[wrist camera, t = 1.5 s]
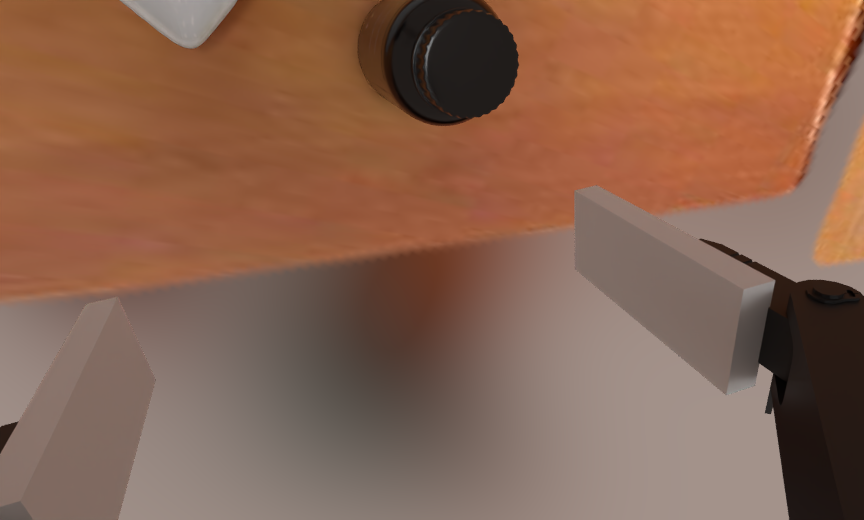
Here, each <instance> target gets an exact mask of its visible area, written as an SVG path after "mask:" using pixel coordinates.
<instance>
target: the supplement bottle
mask: <svg viewBox="0 0 864 520" xmlns="http://www.w3.org/2000/svg"><path fill="white" fill-rule="evenodd" d="M516 48H517V44H516V43H515V42H514V40H513V35H512V34H511V33H510V32H509V29H508V27H507V26H506V25H503V23H502V21H501V20H500V19H499V18H498V16H497V15H496V13H495V12H494V11H493V9H492V8H491V7H490V6H489V5H488V4H487V3H486V2H485V1H484V0H382V1H381V2H379V3H378V4H377V5H376V6H375V7H374V8H373V9H372V10H371V11H370V13H369V14H368V16H367V17H366V19H365V21H364V23H363V25H362V28H361V31H360V35H359V42H358V53H359V60H360V64H361V68H362V70H363V73H364V75H365V77H366V79H367V80H368V82H369V83H370V85H371V86H372V87H373V88H374V89H375V90H376V91H377V92H378V93H379V94H380V95H381V96H383V97H384V98H385V99H387V100H388V101H390V102H391V103H393V104H394V105H395V106H397V107H398V108H400V109H401V110H403V111H404V112H406V113H407V114H408V115H410V116H412V117H413V118H415V119H417V120H419V121H422V122H424V123H427V124H431V125H436V126H450V125H456V124H460V123H463V122H466V121H468V120H470V119H472V118H474V117H481V116H482V115H483V114H489V113H490V112H491V110H494V109H496V108H497V107H498V106H499V104H501V103H503V102H504V100H505V98H506V97H507V96H508V95H509V94H510V91H511V88H512V87H513V86H514V83H515V78H516V77H517V69H518V66H519V63H518V55H519V54H518V52H517V50H516Z"/></svg>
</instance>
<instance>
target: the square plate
mask: <svg viewBox="0 0 864 520" xmlns="http://www.w3.org/2000/svg"><path fill="white" fill-rule="evenodd" d="M120 1H121V2H122V3H124V4H125V5H126V6H127V7H129V8H130V9H131V10H133V11H134V12H135V13H136V14H137V15H139V16H140V17H141V18H143V19H144V20H145V21H146V22H148V23H149V24H150V25H151V26H153V27H154V28H155V29H156V30H157V31H159V32H160V33H161V34H163V35H164V36H166V37H167V38H168V39H170V40H171V41H173V42H174V43H176V44H178V45H180V46H182V47H185V48H190V49H192V48H197V47H198V46H200V45H201V44H202V43H203V42H205V41H206V40H207V39H208V37H209V36H210V35H211V33H212V32H213V31H214V30H215V29H216V28H217V27H218V25H219V24H220V23H221V21H222V20H223V19H224V18H225V16H226V15H227V14H228V13H229V12H230V10H231V9H232V8H233V6H234V5H235V3H236V2H237V0H120Z"/></svg>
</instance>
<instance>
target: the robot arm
mask: <svg viewBox="0 0 864 520" xmlns="http://www.w3.org/2000/svg"><path fill="white" fill-rule="evenodd" d="M575 270H577V271H578V272H579V273H580V274H581V275H582V276H584V277H585V278H586V279H587V280H588V281H590V282H591V283H592V284H593V285H594V286H596V287H597V288H598V289H599V290H600V291H602V292H603V293H604V294H605V295H606V296H608V297H609V298H610V299H612V300H613V301H614V302H615V303H616V304H617V305H618V306H620V307H621V308H622V309H623V310H625V311H626V312H627V313H628V314H629V315H631V316H632V317H633V318H634V319H635V320H637V321H638V322H639V323H640V324H641V325H642V326H644V327H645V328H646V329H647V330H648V331H650V332H651V333H652V334H653V335H655V336H656V337H657V338H658V339H659V340H660V341H662V342H663V343H664V344H665V345H667V346H668V347H669V348H670V349H671V350H673V351H674V352H675V353H676V354H678V356H680V357H681V358H682V359H684V360H685V361H686V362H687V363H688V364H689V365H690V366H692V367H693V368H694V369H695V370H696V371H698V372H699V373H700V374H701V375H702V376H704V377H705V378H706V379H707V380H708V381H710V382H711V383H712V384H713V385H714V386H716V387H717V388H718V389H719V390H721V391H722V392H723V393H724V394H725V395H729V394H732V393H735V392H738V391H741V390H744V389H747V388H750V387H753V386H755V383H756V377H757V372H758V367H759V363H760V364H761V365H763V366H764V367H765V368H767V369H768V370H770V371H771V372H772V373H773V377H772V382H771V387H770V392H769V396H768V402H767V406H766V410H765V413H767V414H771V411H772V408H773V409H774V416H775V423H776V430H777V437H778V444H779V451H780V458H781V465H782V472H783V479H784V486H785V493H786V500H787V506H788V514H789V520H864V296H863V295H862V294H861V293H860V292H859V291H857V290H855V289H853V288H852V287H849V286H846V285H843V284H840V283H837V282H832V281H826V280H806V281H801V282H798V283H796V282H794V281H792V280H790V279H788V278H786V277H784V276H782V275H780V274H778V273H776V272H774V271H773V270H770V269H769V268H767V267H765V266H763V265H761V264H759V263H757V262H752V260H751V259H749V258H747V257H745V256H743V255H739V254H738V252H736V251H734V250H732V249H730V248H728V247H726V246H724V245H722V244H718V243H715V242H711V241H707V240H704V239H697V238H695V237H693V236H691V235H689V234H687V233H685V232H684V231H681V230H680V229H678V228H676V227H674V226H672V225H670V224H669V223H667V222H665V221H663V220H661V219H659V218H657V217H655V216H654V215H652V214H650V213H648V212H646V211H644V210H642V209H640V208H639V207H637V206H635V205H633V204H631V203H629V202H627V201H625V200H624V199H622V198H620V197H618V196H616V195H614V194H612V193H610V192H609V191H607V190H605V189H603V188H601V187H599V186H597V185H596V186H592V187H587V188H583V189H579V190H575ZM155 381H156V379H155V377H154V375H153V373H152V370H151V368H150V366H149V364H148V362H147V359H146V357H145V355H144V353H143V351H142V349H141V346H140V344H139V342H138V340H137V337H136V335H135V333H134V331H133V329H132V326H131V324H130V322H129V320H128V318H127V316H126V313H125V311H124V309H123V307H122V305H121V302H120V300H119V298H118V297H114V298H110V299H105V300H101V301H97V302H92V303H88V304H86V305H85V307H84V308H83V310H82V312H81V314H80V315H79V317H78V319H77V321H76V322H75V324H74V326H73V328H72V329H71V331H70V333H69V335H68V337H67V338H66V340H65V342H64V343H63V345H62V347H61V349H60V350H59V352H58V354H57V356H56V357H55V359H54V361H53V363H52V365H51V366H50V368H49V370H48V371H47V373H46V375H45V377H44V378H43V380H42V382H41V384H40V385H39V387H38V389H37V391H36V392H35V394H34V396H33V398H32V400H31V401H30V403H29V405H28V406H27V408H26V410H25V412H24V413H23V415H22V417H21V419H20V420H19V422H15V423H11V424H8V425H4V426H1V427H0V520H118V518H119V514H120V510H121V506H122V503H123V499H124V495H125V492H126V488H127V484H128V481H129V477H130V473H131V470H132V466H133V462H134V459H135V455H136V451H137V447H138V444H139V440H140V436H141V432H142V429H143V425H144V422H145V418H146V414H147V410H148V406H149V403H150V399H151V395H152V392H153V388H154V384H155Z"/></svg>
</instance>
